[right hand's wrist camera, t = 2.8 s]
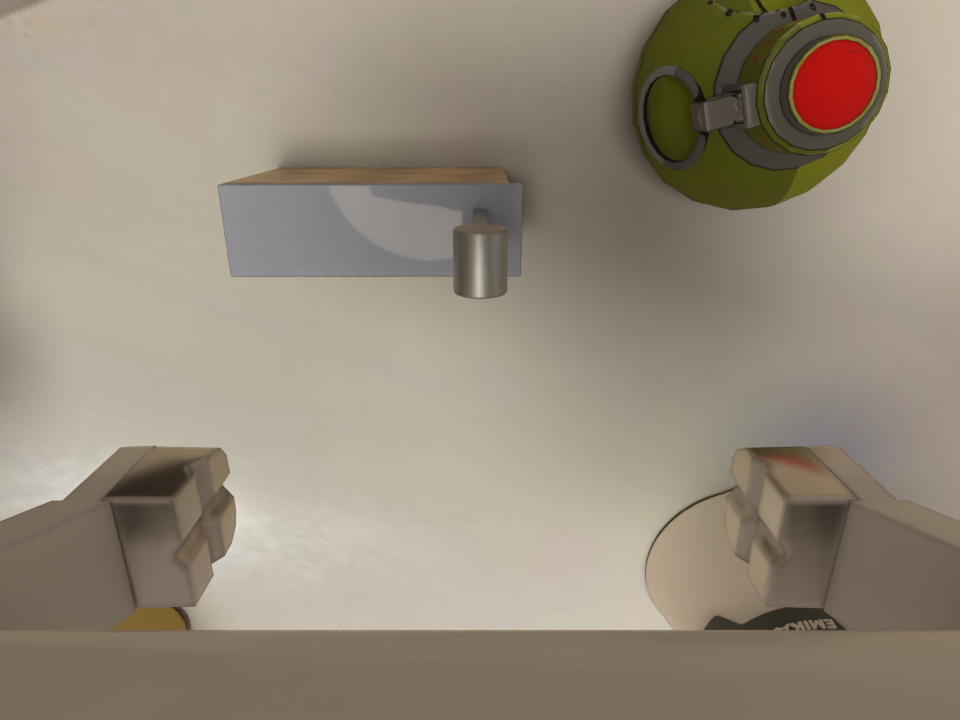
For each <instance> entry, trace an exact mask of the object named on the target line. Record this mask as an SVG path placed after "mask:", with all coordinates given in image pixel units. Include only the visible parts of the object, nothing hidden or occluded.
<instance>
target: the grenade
mask: <svg viewBox="0 0 960 720" xmlns="http://www.w3.org/2000/svg"><path fill="white" fill-rule="evenodd" d="M890 71H891V67H890V61H889V55H888V50H887V46H886V44H885V43H884V41H883V39H882V36H881V31H880V25H879V22H878V21H877V19H876V17H875V15H874V14H873V12H872V10H871V8H870V7H869V5H868V3H867V2H866V0H678V1H677V2H676V3H675V4H674V5H672V6H671V7H670V8H669V9H668V10H667V11H666V12H665V13H664V14H663V16H662V17H661V19H660V21H659V22H658V24H657V26H656V27H655V29H654V30H653V32H652V34H651V35H650V37H649V39H648V40H647V42H646V43H645V45H644V47H643V49H642V53H641V56H640V60H639V63H638V67H637V71H636V74H635V78H634V81H633V85H632V109H633V125H634V128H635V131H636V134H637V137H638V140H639V143H640V147H641V150H642V153H643V155H644V157H645V158H646V159H647V161H648V162H649V163H650V165H651V166H652V167H653V169H654V170H655V171H656V173H657V174H658V175H659V177H660V178H661V179H662V181H663V182H665V183H667V184H668V185H670V186H671V187H673V188H674V189H676V190H677V191H679V192H680V193H682V194H683V195H685V196H687V197H688V198H690V199H692V200H693V201H696V202H699V203H704V204H708V205H712V206H716V207H721V208H725V209H729V210H741V209H751V208H761V207H769V206H773V205H776V204H778V203H781V202H783V201H786V200H788V199H790V198H793V197H795V196H798V195H800V194H803V193H805V192H807V191H809V190H810V189H812V188H813V187H814V186H816V185H817V184H818V183H819V182H821V181H822V180H823V179H825V178H826V177H827V176H828V175H830V174H831V173H832V172H834V171H835V170H836V169H837V168H839V167H840V166H841V165H843V163H844V162H845V161H846V159H847V158H848V157H849V155H850V154H851V153H852V152H853V150H854V149H855V148H856V146H857V145H858V144H859V142H860V141H861V140H862V138H863V137H864V136H865V135H866V133H867V130H868V128H869V126H870V124H871V122H872V121H873V120H874V118H875V117H876V116H877V115H878V113H879V111H880V109H881V106H882V104H883V102H884V99H885V97H886V94H887V92H888V87H889V79H890Z"/></svg>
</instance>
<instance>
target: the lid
mask: <svg viewBox="0 0 960 720" xmlns="http://www.w3.org/2000/svg"><path fill="white" fill-rule="evenodd" d="M218 193H219V199H220V206H221V213H222V220H223V227H224V233H225V240H226V247H227V254H228V260H229V267H230V274H231V277H454V292H455V294H457V295H459V296H462V297H466V298H475V299H486V298H494V297H499V296H502V295H504V294H505V293H506V292H507V276H521V247H522V202H523V185H522V183H223V184H220V185H218Z"/></svg>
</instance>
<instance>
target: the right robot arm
mask: <svg viewBox="0 0 960 720" xmlns="http://www.w3.org/2000/svg"><path fill="white" fill-rule="evenodd" d="M229 474H230V470H229V465H228V460H227V455H226V453H225V452H224V451H223V450H222V449H221V448H206V447H156V446H135V447H121V448H119V449H118V450H117V451H116V452H115V453H114V454H113V455H112V456H111V457H110V458H109V459H107V460H106V461H105V462H104V463H103V464H102V465H101V466H100V467H99V468H98V469H96V470H95V471H94V472H93V473H92V474H91V475H90V476H89V477H88V478H87V479H86V480H84V481H83V482H82V483H81V484H80V485H79V486H78V487H77V488H76V489H75V490H73V491H72V492H71V493H70V494H69V495H68V496H67V497H66V498H65V499H64V500H63V501H50V502H47V503H45V504H43V505H40V506H38V507H35V508H33V509H30V510H28V511H25V512H23V513H20V514H18V515H15V516H13V517H10V518H8V519H5V520H3V521H0V720H960V522H959V521H957V520H955V519H952V518H950V517H947V516H945V515H942V514H940V513H937V512H935V511H932V510H930V509H927V508H925V507H922V506H920V505H917V504H915V503H913V502H910V501H897V500H896V499H895V498H894V497H893V496H892V495H891V494H890V493H889V492H888V491H887V490H885V489H884V488H883V487H882V486H881V485H880V484H879V483H878V482H877V481H876V480H875V479H873V478H872V477H871V476H870V475H869V474H868V473H867V472H866V471H865V470H864V469H863V468H861V467H860V466H859V465H858V464H857V463H856V462H855V461H854V460H853V459H852V458H851V457H849V456H848V455H847V454H846V453H845V452H844V451H843V450H842V449H841V448H838V447H834V446H816V447H764V448H741V449H737V450H736V452H735V454H734V456H733V459H732V464H731V470H730V474H731V475H732V477H733V478H734V480H735V481H736V483H737V484H738V485H737V486H736V487H735V488H734V489H733V490H732V491H730V492H727V493H724V494H721V495H718V496H715V497H712V498H709V499H707V500H704V501H702V502H700V503H698V504H696V505H694V506H692V507H690V508H689V509H687V510H686V511H684V512H683V513H681V514H680V515H679V516H677V517H676V518H675V519H674V520H673V521H672V522H670V523H669V524H668V526H667V527H666V528H665V529H664V530H663V531H662V532H661V534H660V535H659V537H658V538H657V540H656V541H655V543H654V545H653V547H652V549H651V551H650V554H649V557H648V560H647V565H646V574H645V575H646V586H647V590H648V593H649V596H650V598H651V600H652V602H653V604H654V605H655V607H656V608H657V609H658V611H659V612H660V613H661V614H662V616H663V617H664V618H665V619H666V621H667V622H668V623H669V625H670V626H671V627H672V629H673V630H112V629H113V628H114V627H116V626H117V625H118V624H120V623H121V622H122V621H124V620H125V619H126V618H128V617H129V616H130V615H132V614H133V613H134V612H136V608H162V607H195V606H196V604H197V603H198V601H199V599H200V598H201V596H202V594H203V592H204V591H205V589H206V587H207V586H208V584H209V582H210V580H211V579H212V577H213V570H212V563H214V562H215V561H217V560H219V559H220V558H222V557H224V556H225V554H226V553H227V551H228V549H229V547H230V545H231V543H232V540H233V535H234V531H235V527H236V507H235V500H234V496H233V495H232V494H231V493H230V492H229V491H228V490H227V489H226V488H225V487H224V486H223V485H222V484H223V483H224V481H225V480H226V478H227V477H228V475H229Z"/></svg>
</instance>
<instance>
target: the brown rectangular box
mask: <svg viewBox="0 0 960 720" xmlns="http://www.w3.org/2000/svg"><path fill="white" fill-rule="evenodd" d="M227 183H509V182H508V179H507V177H506V175H505V172H504V170H503V168H277V169H274V170H270V171H267V172H263V173H259V174H256V175H252V176H249V177H245V178H241V179H238V180H234V181H231V182H227Z"/></svg>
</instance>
